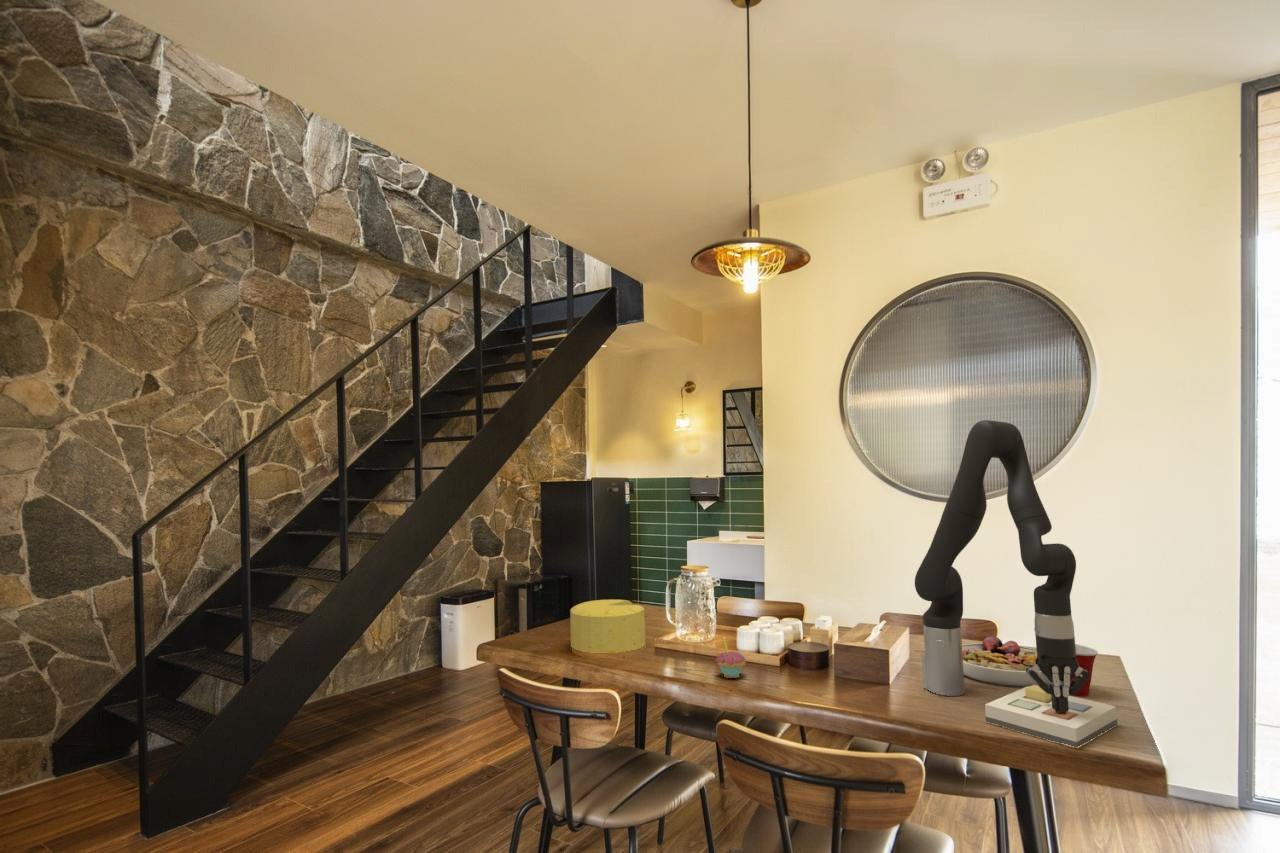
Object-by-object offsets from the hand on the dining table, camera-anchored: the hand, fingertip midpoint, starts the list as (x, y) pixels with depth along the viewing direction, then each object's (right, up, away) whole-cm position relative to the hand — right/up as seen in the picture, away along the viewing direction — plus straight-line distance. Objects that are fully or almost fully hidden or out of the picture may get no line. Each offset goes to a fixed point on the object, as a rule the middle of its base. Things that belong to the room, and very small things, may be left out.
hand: (1060, 712), depth 146 cm
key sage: (-4, -3, +6) cm, 8 cm away
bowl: (+12, -8, +44) cm, 46 cm away
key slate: (+6, -3, +4) cm, 8 cm away
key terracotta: (0, -2, 0) cm, 2 cm away
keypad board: (+1, -5, +5) cm, 7 cm away
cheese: (-105, -14, +82) cm, 134 cm away
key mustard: (+2, -1, +10) cm, 11 cm away
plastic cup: (+20, -6, +25) cm, 33 cm away
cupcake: (-67, -10, +47) cm, 82 cm away
